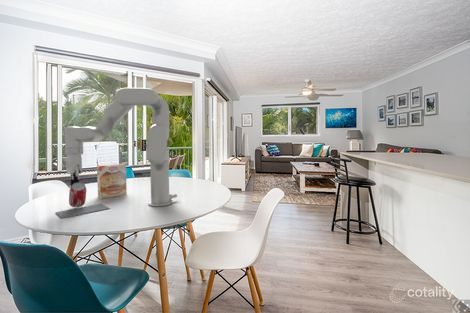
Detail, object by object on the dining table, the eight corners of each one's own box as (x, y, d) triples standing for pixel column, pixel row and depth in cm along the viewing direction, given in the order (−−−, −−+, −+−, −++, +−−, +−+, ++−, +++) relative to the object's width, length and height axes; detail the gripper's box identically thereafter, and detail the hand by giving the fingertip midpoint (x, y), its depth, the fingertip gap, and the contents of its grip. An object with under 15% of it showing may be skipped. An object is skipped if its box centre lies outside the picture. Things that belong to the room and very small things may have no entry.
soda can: (65, 203, 118) (66, 185, 113) (79, 196, 124) (80, 179, 119) (74, 210, 117) (76, 193, 111) (88, 204, 123) (90, 187, 117)
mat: (101, 204, 125) (101, 203, 125) (110, 208, 117) (109, 207, 117) (55, 213, 110) (55, 212, 110) (61, 218, 102) (61, 217, 102)
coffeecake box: (100, 198, 138) (99, 165, 136) (97, 196, 143) (96, 165, 141) (127, 194, 148) (126, 164, 146) (123, 192, 153) (122, 163, 152)
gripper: (61, 150, 120) (62, 185, 121) (69, 152, 110) (69, 190, 111) (78, 150, 125) (79, 184, 127) (87, 151, 115) (87, 188, 117)
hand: (74, 187), depth 119 cm, fingers closed
